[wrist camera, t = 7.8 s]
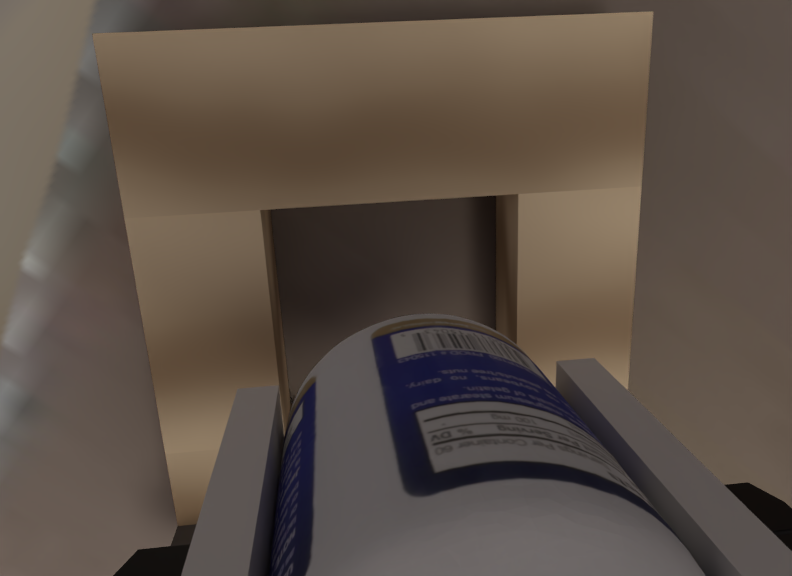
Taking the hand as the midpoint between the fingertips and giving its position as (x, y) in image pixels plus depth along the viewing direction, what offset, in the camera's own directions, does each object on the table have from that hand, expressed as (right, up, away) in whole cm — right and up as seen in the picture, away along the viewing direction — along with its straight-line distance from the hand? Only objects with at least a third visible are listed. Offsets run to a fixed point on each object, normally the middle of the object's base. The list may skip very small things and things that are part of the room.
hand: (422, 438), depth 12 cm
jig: (-1, +3, +8) cm, 9 cm away
